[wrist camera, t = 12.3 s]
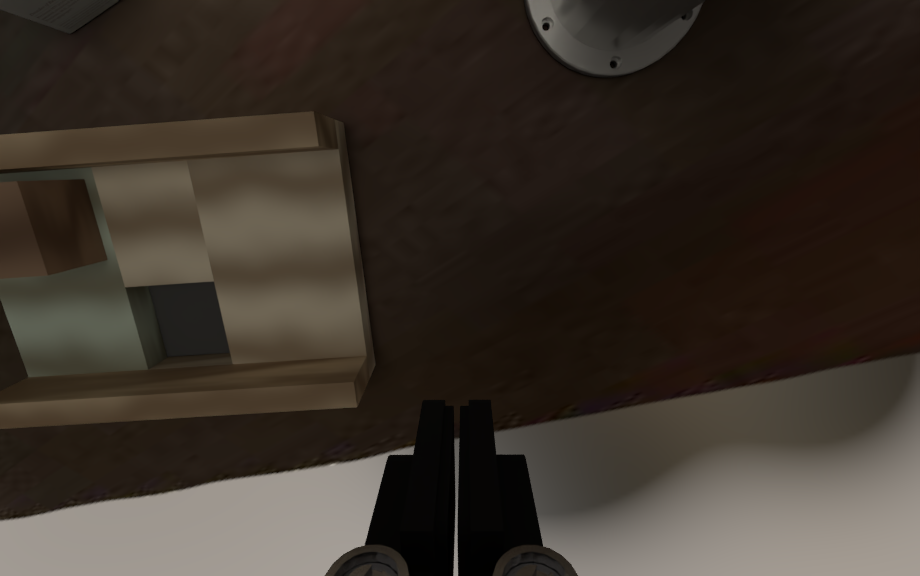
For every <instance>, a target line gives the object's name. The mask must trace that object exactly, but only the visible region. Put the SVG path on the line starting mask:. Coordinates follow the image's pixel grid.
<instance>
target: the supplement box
mask: <svg viewBox="0 0 920 576" xmlns="http://www.w3.org/2000/svg"><path fill="white" fill-rule="evenodd" d="M118 1H119V0H0V10H3V11H6V12H9V13H12V14H14V15H17V16H20V17H23V18H26V19H29V20H31V21H34V22H37V23H40V24H43V25H46V26H49V27H51V28H54V29H57V30H60V31H63V32H66V33H68V34H71V33H72V32H74V31H76V30H77V29H79V28H80V27H82V26H83V25H85V24H86V23H88V22H89V21H90V20H92V19H93V18H95V17H96V16H98V15H99V14H101V13H102V12H103V11H105V10H106V9H108V8H109V7H111V6H112V5H114V4H115V3H117V2H118Z"/></svg>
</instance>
